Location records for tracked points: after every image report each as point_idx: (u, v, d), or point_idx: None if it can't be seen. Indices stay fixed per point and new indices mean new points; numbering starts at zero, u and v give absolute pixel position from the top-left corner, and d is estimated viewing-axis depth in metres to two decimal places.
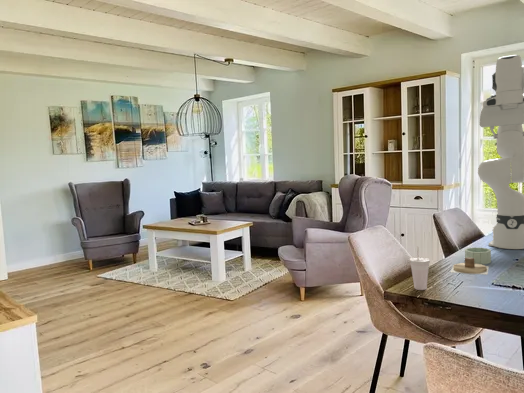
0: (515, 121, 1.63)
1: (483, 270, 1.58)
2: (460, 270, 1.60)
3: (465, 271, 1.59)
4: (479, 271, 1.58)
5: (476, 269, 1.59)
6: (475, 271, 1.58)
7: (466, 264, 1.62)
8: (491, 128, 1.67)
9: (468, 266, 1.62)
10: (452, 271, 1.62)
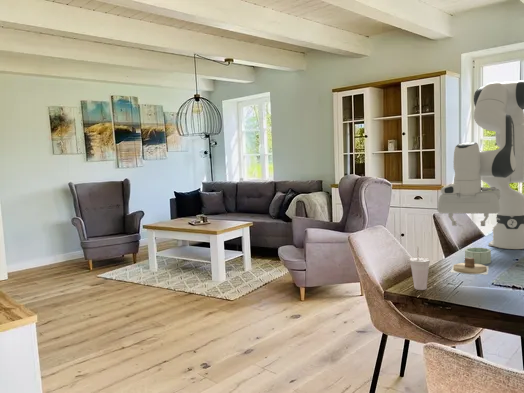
0: (473, 210, 1.59)
1: (483, 270, 1.58)
2: (460, 270, 1.60)
3: (465, 271, 1.59)
4: (479, 271, 1.58)
5: (476, 269, 1.59)
6: (475, 271, 1.58)
7: (466, 264, 1.62)
8: (449, 215, 1.63)
9: (468, 266, 1.62)
10: (452, 271, 1.62)
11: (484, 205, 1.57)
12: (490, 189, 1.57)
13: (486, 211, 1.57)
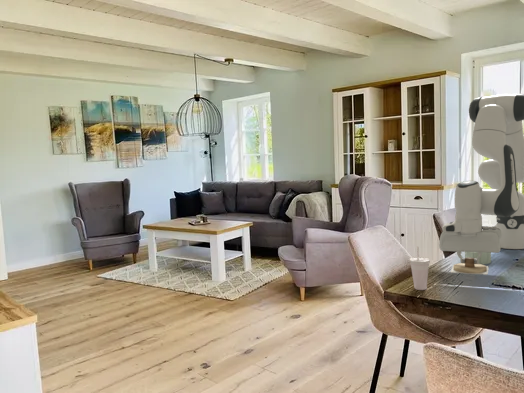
0: (474, 249, 1.60)
1: (483, 270, 1.58)
2: (460, 270, 1.60)
3: (465, 271, 1.59)
4: (479, 271, 1.58)
5: (476, 269, 1.59)
6: (475, 271, 1.58)
7: (466, 264, 1.62)
8: (458, 253, 1.63)
9: (468, 266, 1.62)
10: (452, 271, 1.62)
11: (485, 244, 1.58)
12: (491, 228, 1.58)
13: (487, 250, 1.58)
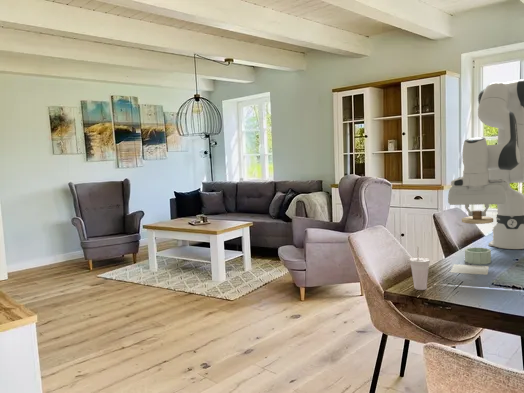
0: (481, 201, 1.69)
1: (490, 221, 1.67)
2: (468, 221, 1.69)
3: (473, 222, 1.68)
4: (486, 222, 1.66)
5: (484, 220, 1.67)
6: (483, 222, 1.66)
7: (474, 216, 1.71)
8: (466, 206, 1.72)
9: (476, 218, 1.71)
10: (452, 271, 1.62)
11: (492, 196, 1.67)
12: (497, 181, 1.67)
13: (494, 202, 1.67)
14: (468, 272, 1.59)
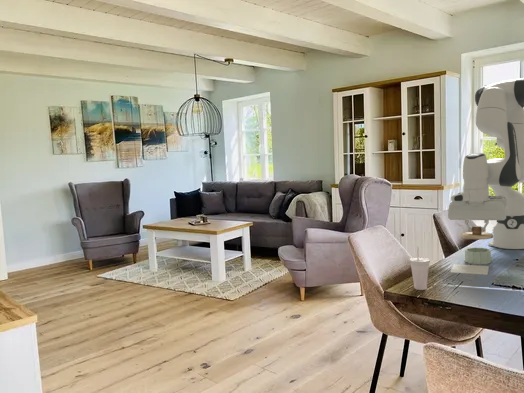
0: (481, 217, 1.69)
1: (490, 237, 1.68)
2: (468, 237, 1.69)
3: (473, 238, 1.68)
4: (486, 237, 1.67)
5: (483, 236, 1.68)
6: (482, 237, 1.67)
7: (473, 232, 1.72)
8: (466, 221, 1.73)
9: (475, 233, 1.71)
10: (452, 271, 1.62)
11: (491, 212, 1.68)
12: (497, 197, 1.67)
13: (493, 218, 1.67)
14: (468, 272, 1.59)
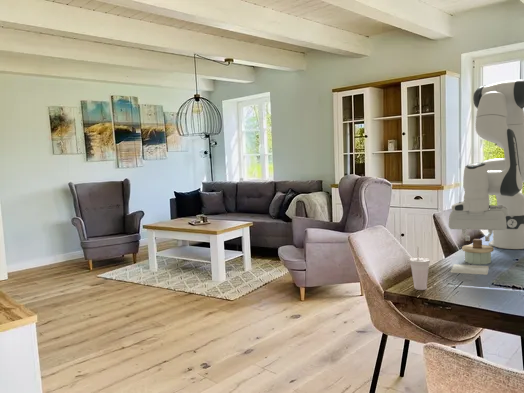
0: (482, 226, 1.70)
1: (490, 250, 1.68)
2: (469, 250, 1.70)
3: (473, 251, 1.69)
4: (487, 251, 1.68)
5: (484, 249, 1.69)
6: (483, 251, 1.68)
7: (474, 245, 1.72)
8: (463, 231, 1.74)
9: (476, 247, 1.72)
10: (452, 271, 1.62)
11: (492, 222, 1.68)
12: (498, 207, 1.68)
13: (494, 227, 1.68)
14: (468, 272, 1.59)
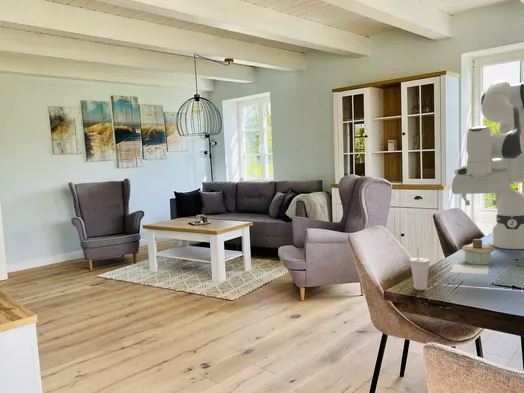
0: (485, 190, 1.68)
1: (490, 250, 1.68)
2: (469, 250, 1.70)
3: (473, 251, 1.69)
4: (487, 251, 1.68)
5: (484, 249, 1.69)
6: (483, 251, 1.68)
7: (474, 245, 1.72)
8: (463, 195, 1.73)
9: (476, 247, 1.72)
10: (452, 271, 1.62)
11: (496, 185, 1.66)
12: (501, 170, 1.66)
13: (498, 190, 1.66)
14: (468, 272, 1.59)
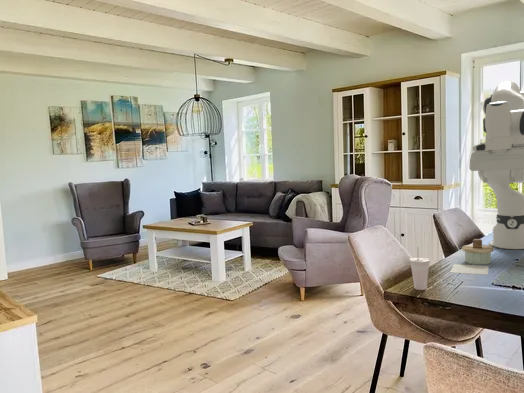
0: (504, 166, 1.65)
1: (490, 250, 1.68)
2: (469, 250, 1.70)
3: (473, 251, 1.69)
4: (487, 251, 1.68)
5: (484, 249, 1.69)
6: (483, 251, 1.68)
7: (474, 245, 1.72)
8: (481, 172, 1.70)
9: (476, 247, 1.72)
10: (452, 271, 1.62)
11: (515, 161, 1.63)
12: (521, 145, 1.63)
13: (517, 166, 1.63)
14: (468, 272, 1.59)
